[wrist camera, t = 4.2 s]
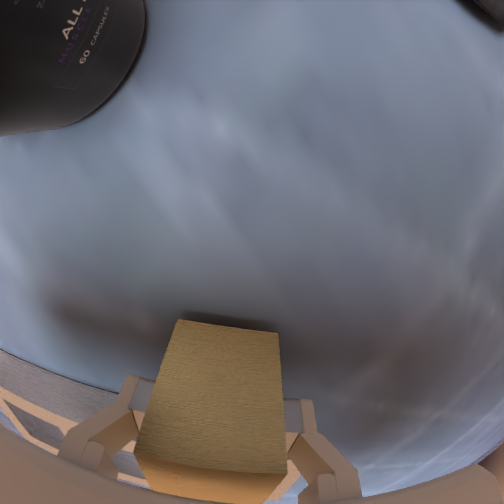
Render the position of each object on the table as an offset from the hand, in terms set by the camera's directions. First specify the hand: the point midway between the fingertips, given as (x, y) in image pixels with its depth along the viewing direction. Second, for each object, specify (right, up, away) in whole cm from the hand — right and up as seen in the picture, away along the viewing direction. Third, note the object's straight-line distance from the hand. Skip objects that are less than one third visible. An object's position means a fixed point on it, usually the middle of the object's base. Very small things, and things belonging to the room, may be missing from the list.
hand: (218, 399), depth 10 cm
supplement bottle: (-6, +14, -3) cm, 15 cm away
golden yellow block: (0, +1, +2) cm, 2 cm away
